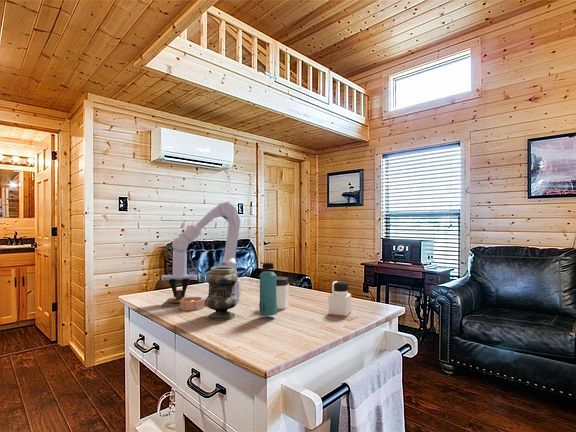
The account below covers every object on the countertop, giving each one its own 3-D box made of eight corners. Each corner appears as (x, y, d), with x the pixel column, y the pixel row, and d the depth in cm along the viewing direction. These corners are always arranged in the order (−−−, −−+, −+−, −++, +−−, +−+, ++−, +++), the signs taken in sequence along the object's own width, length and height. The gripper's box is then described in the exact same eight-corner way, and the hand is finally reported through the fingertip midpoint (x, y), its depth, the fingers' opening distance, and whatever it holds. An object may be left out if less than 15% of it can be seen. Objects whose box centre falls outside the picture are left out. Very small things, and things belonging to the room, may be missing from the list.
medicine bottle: (351, 311, 129) (351, 280, 129) (346, 316, 123) (346, 283, 123) (333, 309, 132) (333, 279, 132) (328, 314, 126) (328, 282, 126)
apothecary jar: (244, 315, 124) (244, 266, 124) (223, 323, 113) (223, 270, 114) (219, 310, 130) (220, 264, 130) (197, 318, 119) (198, 268, 120)
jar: (293, 307, 135) (293, 278, 135) (277, 311, 130) (277, 280, 130) (279, 303, 142) (279, 275, 142) (264, 306, 137) (264, 277, 137)
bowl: (205, 304, 139) (205, 296, 139) (202, 310, 130) (202, 301, 130) (182, 305, 138) (182, 296, 138) (177, 311, 129) (178, 302, 129)
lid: (192, 298, 147) (192, 288, 148) (189, 302, 138) (189, 292, 138) (169, 299, 146) (169, 288, 146) (165, 303, 136) (165, 292, 137)
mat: (195, 299, 149) (195, 298, 149) (190, 306, 137) (190, 304, 137) (168, 300, 147) (168, 298, 148) (161, 306, 136) (161, 305, 136)
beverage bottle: (279, 316, 122) (279, 262, 123) (272, 321, 116) (273, 264, 117) (263, 314, 125) (263, 261, 125) (256, 319, 118) (256, 263, 119)
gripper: (159, 266, 138) (159, 299, 137) (195, 266, 139) (194, 298, 139) (164, 264, 145) (163, 295, 144) (198, 264, 146) (197, 294, 146)
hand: (179, 296), depth 142 cm, fingers closed on lid, 3 cm apart
